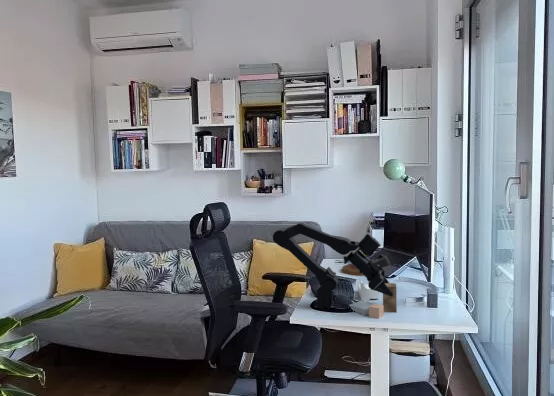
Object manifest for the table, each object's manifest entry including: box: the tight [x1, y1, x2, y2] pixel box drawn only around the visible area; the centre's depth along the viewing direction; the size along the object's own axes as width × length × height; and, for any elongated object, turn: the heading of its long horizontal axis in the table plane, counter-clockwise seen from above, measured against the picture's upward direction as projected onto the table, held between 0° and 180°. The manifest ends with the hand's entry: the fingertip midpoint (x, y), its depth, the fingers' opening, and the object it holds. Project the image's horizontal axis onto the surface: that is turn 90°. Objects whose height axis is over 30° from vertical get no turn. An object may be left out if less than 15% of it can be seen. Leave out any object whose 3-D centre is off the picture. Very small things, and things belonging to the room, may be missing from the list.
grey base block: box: [348, 300, 375, 315], centre depth 183 cm, size 8×8×2 cm
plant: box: [341, 250, 368, 277], centre depth 245 cm, size 20×20×11 cm
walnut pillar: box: [382, 282, 398, 314], centre depth 182 cm, size 5×5×10 cm
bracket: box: [357, 281, 380, 301], centre depth 201 cm, size 13×7×8 cm, turn 176°
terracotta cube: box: [368, 303, 385, 319], centre depth 175 cm, size 4×4×4 cm
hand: (392, 292), depth 181 cm, fingers open, 9 cm apart
